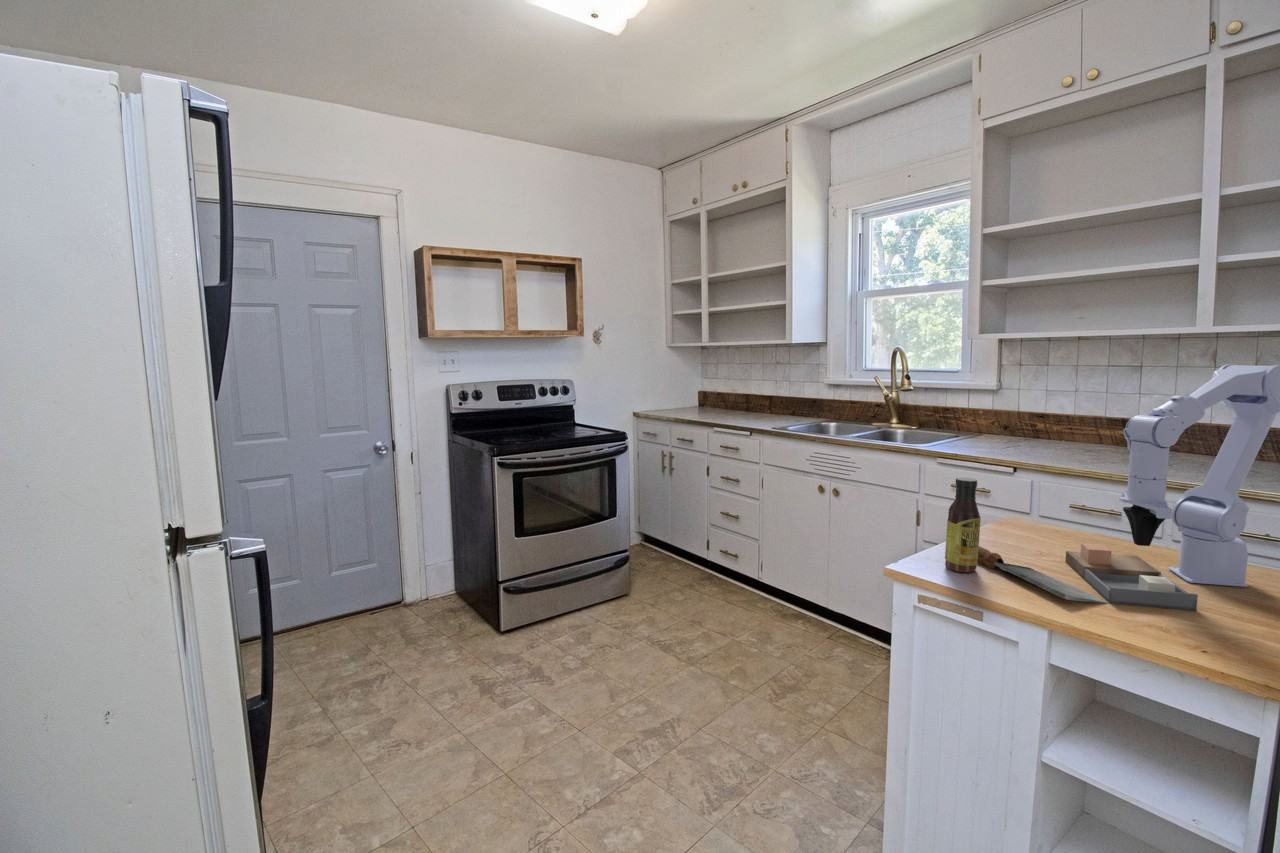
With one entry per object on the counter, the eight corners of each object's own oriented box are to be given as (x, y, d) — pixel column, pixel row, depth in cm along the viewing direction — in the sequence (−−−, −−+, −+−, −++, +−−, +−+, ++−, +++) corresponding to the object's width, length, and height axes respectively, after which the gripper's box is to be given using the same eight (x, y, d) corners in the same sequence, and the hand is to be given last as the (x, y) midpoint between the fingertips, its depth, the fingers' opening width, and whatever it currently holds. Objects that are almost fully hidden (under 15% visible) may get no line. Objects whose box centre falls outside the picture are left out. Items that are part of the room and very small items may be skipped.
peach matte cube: (1102, 558, 128) (1103, 544, 127) (1110, 564, 124) (1111, 550, 123) (1080, 556, 129) (1081, 543, 128) (1087, 563, 125) (1088, 549, 125)
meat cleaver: (1118, 604, 112) (1119, 583, 112) (1064, 609, 110) (1066, 588, 110) (988, 549, 145) (989, 532, 145) (945, 552, 144) (946, 535, 143)
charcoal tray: (1160, 585, 119) (1162, 570, 119) (1196, 611, 108) (1197, 595, 107) (1083, 579, 123) (1084, 564, 123) (1109, 603, 111) (1111, 587, 111)
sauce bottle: (962, 576, 126) (966, 483, 124) (937, 566, 132) (941, 478, 130) (984, 571, 129) (989, 480, 126) (959, 562, 134) (963, 475, 132)
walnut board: (1136, 567, 129) (1136, 555, 129) (1159, 584, 120) (1161, 572, 119) (1065, 562, 133) (1066, 551, 133) (1083, 578, 123) (1083, 566, 123)
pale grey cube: (1175, 585, 111) (1173, 600, 111) (1164, 577, 114) (1163, 592, 115) (1148, 582, 112) (1147, 598, 112) (1139, 575, 116) (1138, 589, 116)
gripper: (1106, 469, 125) (1101, 532, 126) (1141, 484, 111) (1135, 555, 112) (1147, 470, 123) (1141, 534, 124) (1188, 485, 109) (1181, 558, 110)
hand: (1141, 544), depth 118 cm, fingers closed
